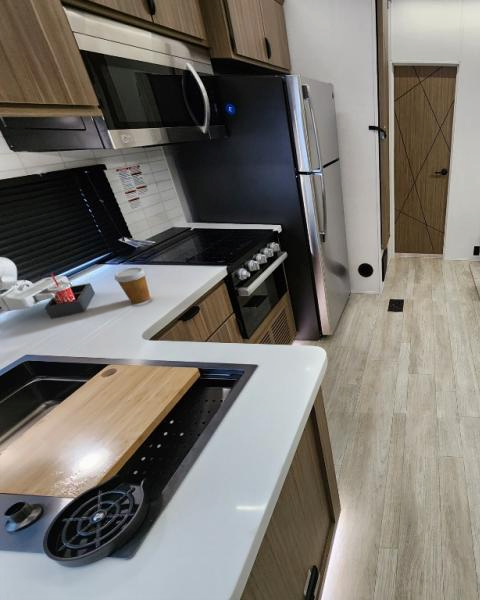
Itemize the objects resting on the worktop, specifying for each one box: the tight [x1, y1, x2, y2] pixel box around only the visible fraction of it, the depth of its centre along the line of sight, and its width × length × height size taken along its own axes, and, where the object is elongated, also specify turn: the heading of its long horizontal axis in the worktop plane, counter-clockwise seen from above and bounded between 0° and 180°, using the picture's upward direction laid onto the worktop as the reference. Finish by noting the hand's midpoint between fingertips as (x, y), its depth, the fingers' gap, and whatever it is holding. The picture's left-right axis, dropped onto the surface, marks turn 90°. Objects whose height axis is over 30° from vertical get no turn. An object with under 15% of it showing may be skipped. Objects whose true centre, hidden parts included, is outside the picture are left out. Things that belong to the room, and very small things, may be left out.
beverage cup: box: [47, 273, 76, 304], centre depth 121 cm, size 6×6×14 cm
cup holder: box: [44, 282, 96, 320], centre depth 127 cm, size 10×18×5 cm, turn 30°
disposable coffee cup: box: [114, 267, 151, 304], centre depth 128 cm, size 10×10×12 cm
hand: (63, 289), depth 121 cm, fingers open, 7 cm apart
